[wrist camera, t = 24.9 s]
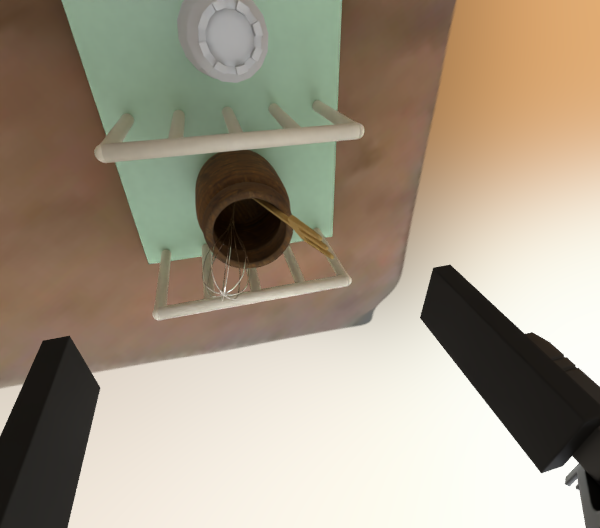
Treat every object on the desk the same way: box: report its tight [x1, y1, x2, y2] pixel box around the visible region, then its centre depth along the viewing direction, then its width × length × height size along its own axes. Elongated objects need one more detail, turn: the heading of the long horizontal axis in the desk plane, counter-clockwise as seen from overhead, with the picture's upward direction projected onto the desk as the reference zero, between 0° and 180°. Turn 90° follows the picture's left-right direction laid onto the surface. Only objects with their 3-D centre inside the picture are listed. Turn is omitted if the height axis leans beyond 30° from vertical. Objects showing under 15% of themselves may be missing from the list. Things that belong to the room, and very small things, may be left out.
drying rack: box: [61, 0, 364, 320], centre depth 20 cm, size 20×15×8 cm
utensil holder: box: [195, 150, 334, 301], centre depth 20 cm, size 6×6×12 cm
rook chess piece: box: [177, 0, 268, 83], centre depth 16 cm, size 4×4×8 cm
